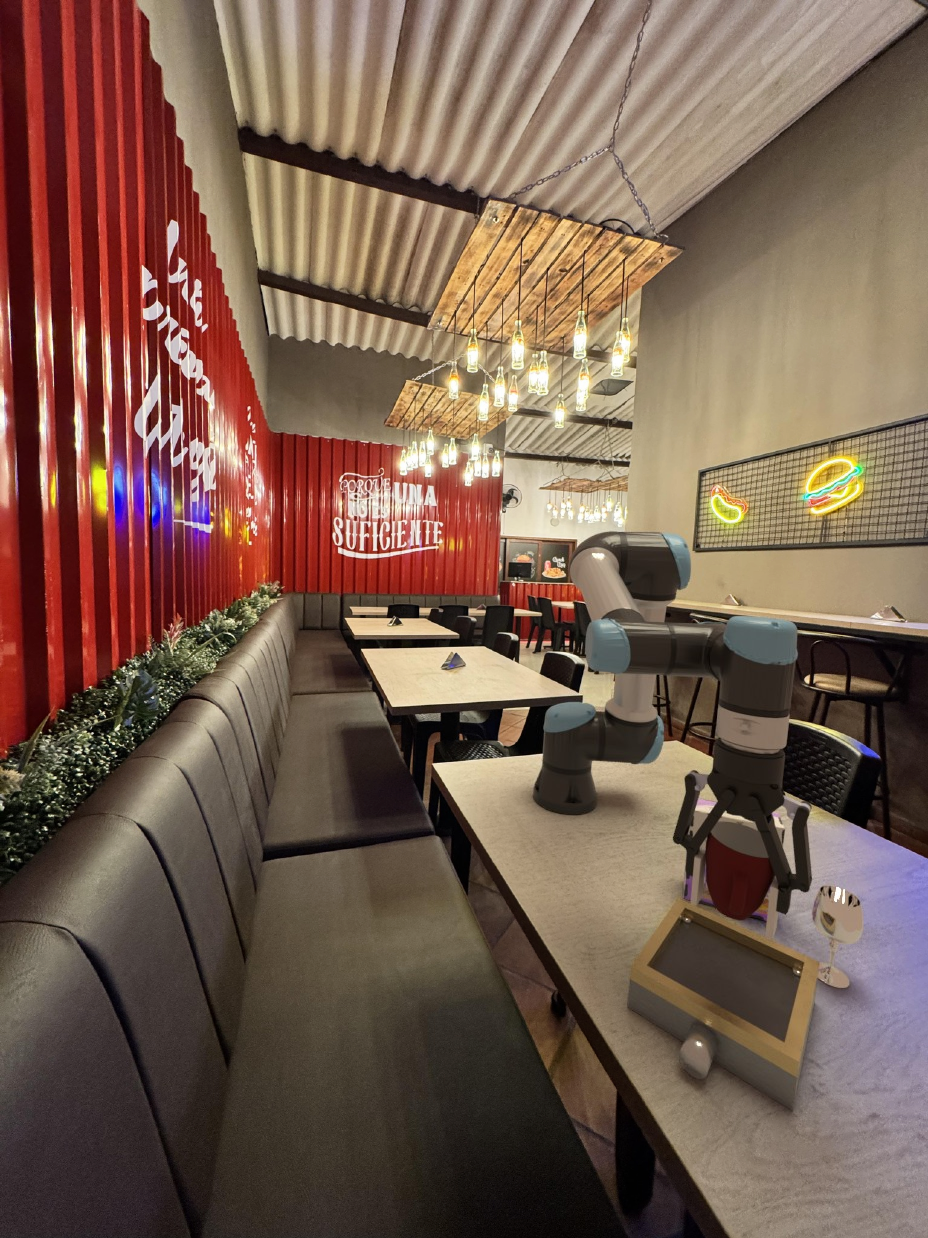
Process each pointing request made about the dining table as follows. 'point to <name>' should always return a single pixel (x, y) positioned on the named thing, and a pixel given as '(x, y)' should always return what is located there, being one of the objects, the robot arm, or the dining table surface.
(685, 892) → the candy box
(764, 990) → the shallow drawer tray
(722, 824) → the mug
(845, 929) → the wineglass
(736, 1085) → the dining table surface
